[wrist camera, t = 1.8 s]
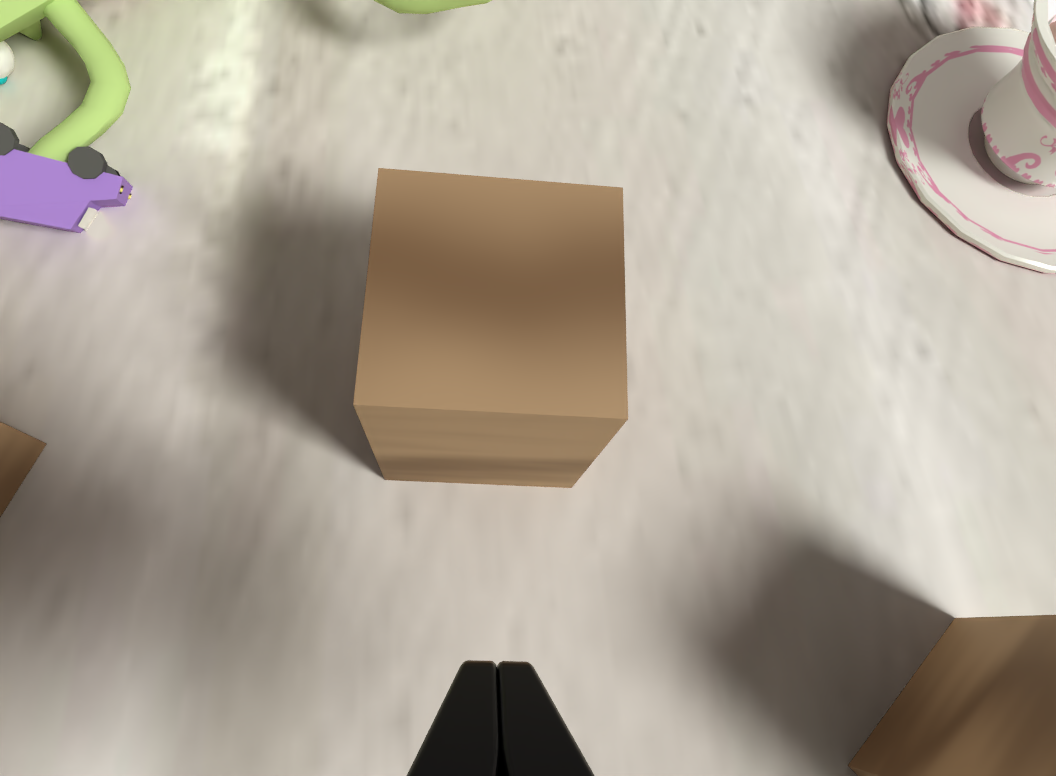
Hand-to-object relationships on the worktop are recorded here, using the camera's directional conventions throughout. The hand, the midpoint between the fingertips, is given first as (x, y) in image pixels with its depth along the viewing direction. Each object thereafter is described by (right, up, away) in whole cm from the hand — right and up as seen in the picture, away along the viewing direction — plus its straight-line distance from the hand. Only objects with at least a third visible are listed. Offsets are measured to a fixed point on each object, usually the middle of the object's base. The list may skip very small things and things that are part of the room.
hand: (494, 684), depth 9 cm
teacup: (+21, +14, +22) cm, 33 cm away
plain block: (-1, +3, +15) cm, 16 cm away
